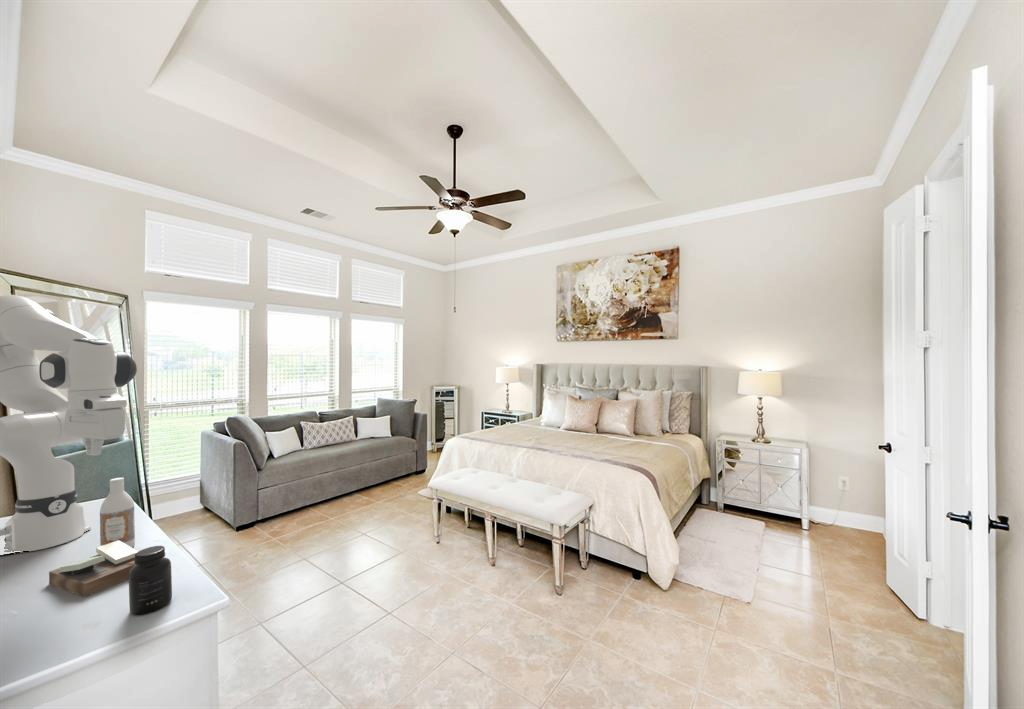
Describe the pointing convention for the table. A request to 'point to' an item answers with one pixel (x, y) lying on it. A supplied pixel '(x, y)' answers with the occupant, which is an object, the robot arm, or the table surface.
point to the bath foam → (117, 516)
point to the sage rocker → (82, 564)
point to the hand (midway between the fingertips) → (93, 455)
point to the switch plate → (92, 577)
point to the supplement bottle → (150, 581)
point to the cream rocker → (116, 552)
